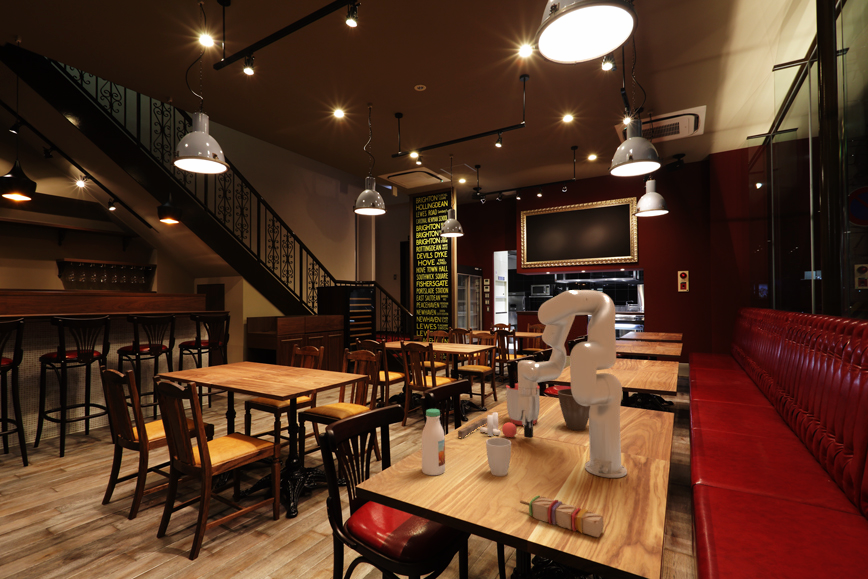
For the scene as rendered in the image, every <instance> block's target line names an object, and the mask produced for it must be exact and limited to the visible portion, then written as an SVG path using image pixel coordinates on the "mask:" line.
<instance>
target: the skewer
mask: <svg viewBox="0 0 868 579" xmlns="http://www.w3.org/2000/svg"><path fill="white" fill-rule="evenodd" d="M519 504H523V505H524V506H525V505H526V506H528V513H529V516H530V517H533V518H534V519H536V520H539V521H542V522H546V523H548V524H550V525H553V526H556V525H557V526H559V527H561V528H565V529H568V530H572V531H573V532H576V531H578V532H579V533H580V534H581V535H582V534H585V535H588V536H592V537H594V538H599V537H600V536H601V534H602V533H603V531H604V517H603V516H604V515H601V514H599V513H595V512H592V511H589V510H588V509H585V508H580V507H577V506H575V505H572V504H566V503H563V502H562V501H561V500H560V501H559V500H558V499H552V498H551V499H550V498H549V497H545V496H540V495H535V496H534V497H533V498H531V500H530V501H529V502H528V501H524V500H519Z"/></svg>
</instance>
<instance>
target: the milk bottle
mask: <svg viewBox="0 0 868 579" xmlns="http://www.w3.org/2000/svg"><path fill="white" fill-rule="evenodd" d="M425 417H426V421H425V425H424V427H423V429H422V433H421V471H422V473H423V474H425V475H428V476H439V475H442V474H444V473H445V471H446V444H445V443H446V438H445V431H444V429H443V426H442V424H441V420H440V417H441V412H440V409H437V408H429V409H426V410H425Z"/></svg>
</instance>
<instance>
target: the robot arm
mask: <svg viewBox="0 0 868 579" xmlns="http://www.w3.org/2000/svg"><path fill="white" fill-rule="evenodd" d="M585 315H587V316H589V315H590V316H591V318H590V319H589V322H588V325H587V341H581V342H579V343H576V344H575V345H574V346H573V348H572V349H571V351H570V356H569V370H570V389H571V391H572V395H573V398H574V399H575V401H576V402H577V403H578V404H580V405H582V406H590V410H589V419H588V437H589V440H588V441H589V461H587V462H585V464H584V467H585V468H584V469H585V470H586V471H587V472H588V473H590V474H592V475H595V476H599V477H602V478H609V479H610V478H611V479H616V478H623V477H625V476H627V473H628V470H627V468H626V467H625V466H624V465H623V464H622V450H621V448H622V447H621V446H622V445H621V441H622V440H621V402H622V398H623V386H622V383H621V380H620V379H619V378H618V377H616V376H615V375H613V374H611V373H607V372H600V373H597V371H603V370H607V369H611V368H613V367H614V366H615V365H616V361H617V345H616V344H617V342H616V306H615V304H614V301H613V299H612V298H611V297H610V296H609V295H608V294H606V293H604V292H601V291H598V290H592V289H581V290H580V289H572V290H565V291H563V292H560V293H559V294H558V295H556V296H554V297H552V298H549V299H548V300H546V301H545V302H543V303H542V304H541V305H540V307H539V308H538V311H537V318H538V320H539V322H540V323H541V324H542V325H544V326H545V328H544V329H543V332H542V336H541V339H542V341H543V342H544V343H545V344H546V345H547V346H550V347H551V348H552V352H551V355H550V358H549V360H548V361H537V362H536V361H534V360H530V359H529V360H527V359H526V360H525V359H524V360H522V359H521V360H519V361H518V363H517V381H518V382H517V383H518V395H519V400H518V420H522V425H524V426H523V436H524V438H528V439H532V438H533V437H534V425H533V420H534V418H535V417H536V416H537V403H536V396H537V385H538V383H542V382H548V381H555V380H557V379H558V378H560V377H561V375H562V373H563V371H564V368H565V367H566V364H567V358H568V357H567V350H566V347H565V342H566V340H567V337H568V335H569V334H570V333H569V332H570V330H571V328H572V325H573V323H574V321H575V317H576V316H585ZM522 425H521V426H522Z"/></svg>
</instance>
